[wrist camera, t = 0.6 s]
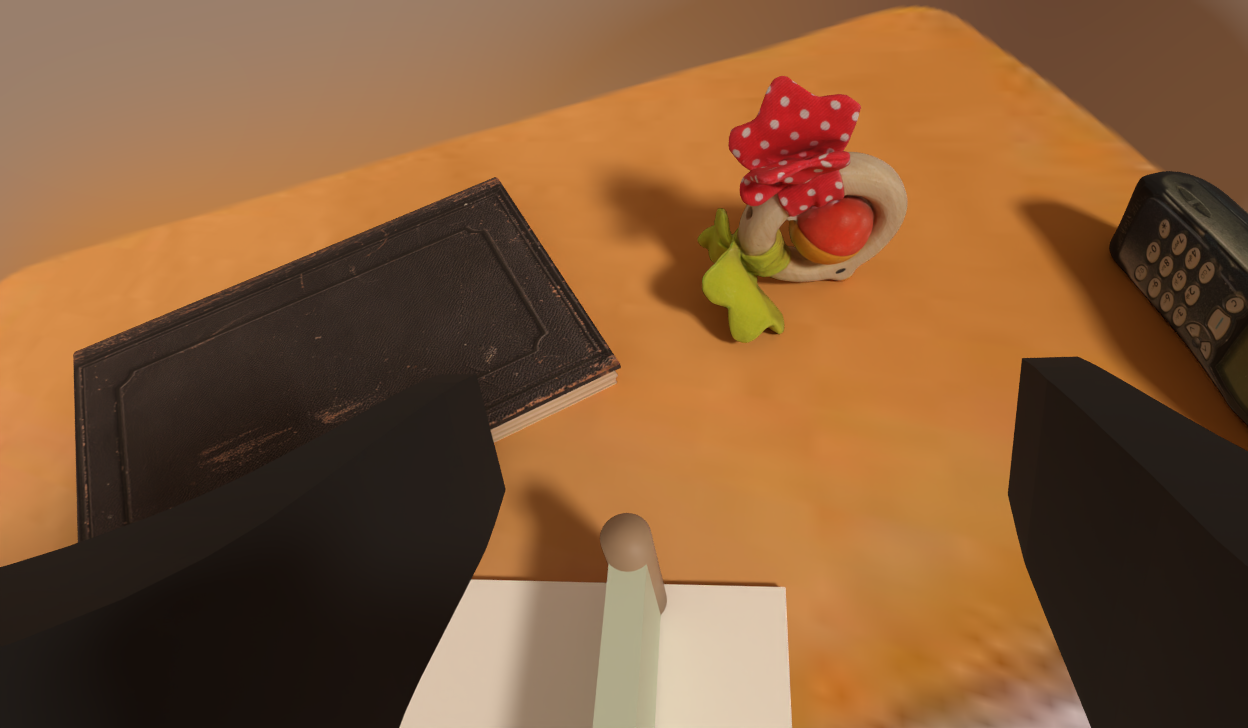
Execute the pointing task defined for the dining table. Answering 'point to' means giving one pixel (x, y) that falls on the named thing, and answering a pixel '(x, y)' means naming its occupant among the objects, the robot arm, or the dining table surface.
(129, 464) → the hardcover book
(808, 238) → the bird rattle
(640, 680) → the fence panel
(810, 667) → the dining table surface
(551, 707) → the card
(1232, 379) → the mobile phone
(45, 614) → the robot arm
